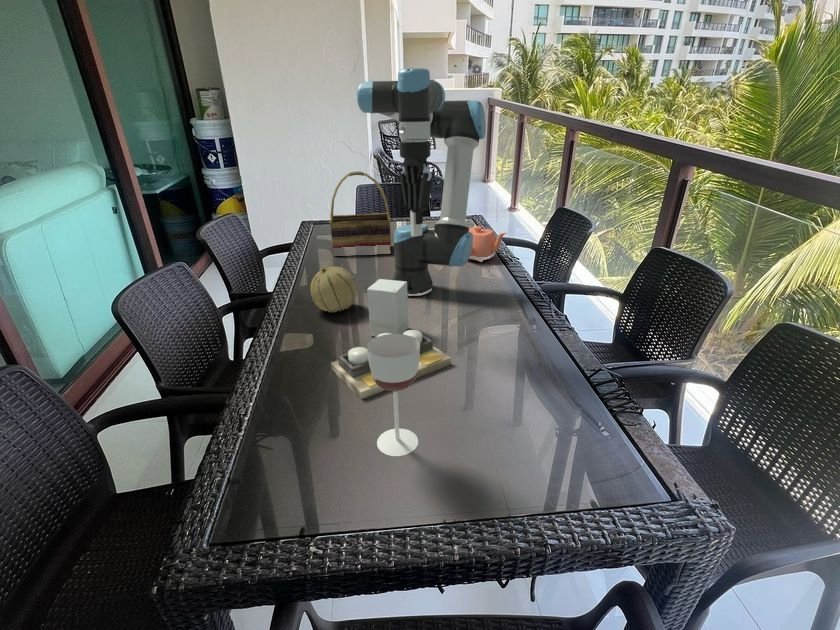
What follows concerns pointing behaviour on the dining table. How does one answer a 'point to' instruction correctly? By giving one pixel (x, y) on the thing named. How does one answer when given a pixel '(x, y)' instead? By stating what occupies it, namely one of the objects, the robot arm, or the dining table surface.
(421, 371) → the board
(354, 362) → the button
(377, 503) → the dining table surface
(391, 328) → the supplement box
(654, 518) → the dining table surface
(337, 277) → the cantaloupe
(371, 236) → the basket
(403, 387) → the wineglass
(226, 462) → the dining table surface
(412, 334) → the button
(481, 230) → the teapot
